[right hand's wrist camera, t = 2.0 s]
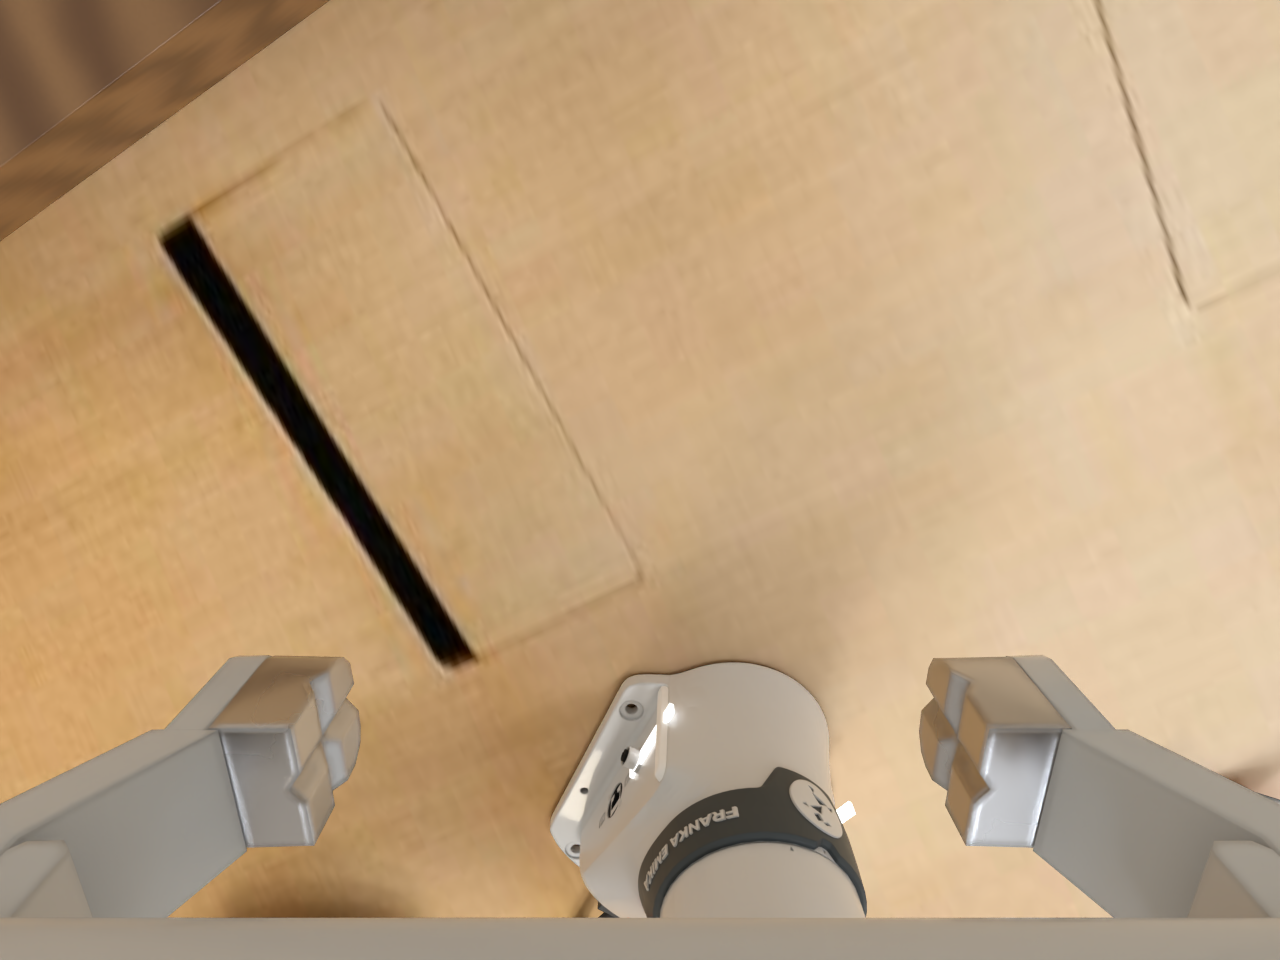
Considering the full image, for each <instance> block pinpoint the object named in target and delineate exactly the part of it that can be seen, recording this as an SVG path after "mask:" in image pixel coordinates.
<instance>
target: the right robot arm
mask: <svg viewBox="0 0 1280 960" xmlns="http://www.w3.org/2000/svg"><path fill="white" fill-rule="evenodd" d="M353 685H354V681H353V676H352V671H351V666H350V663H349V662H348V661H347V660H346V659H345V658H344V657H311V656H273V657H272V656H269V655H265V656H236V657H233V658H229V659H228V660H227V661H226V663H225V664H224V665H223V666H222V667H221V668H220V669H219V670H218V671H217V672H216V673H215V675H214V676H213V677H212V678H211V679H210V680H209V681H208V682H207V683H206V684H205V686H204V687H203V688H202V689H201V690H200V691H199V692H198V693H197V694H196V695H195V696H194V698H193V699H192V700H191V701H190V702H189V703H188V704H187V705H186V706H185V707H184V708H183V710H182V711H181V712H180V713H179V714H178V715H177V716H176V717H175V718H174V719H173V720H172V722H171V723H170V724H169V725H168V726H167V727H166V728H165V729H164V730H151V731H148V732H146V733H144V734H142V735H140V736H138V737H136V738H134V739H132V740H130V741H128V742H126V743H124V744H122V745H120V746H118V747H116V748H114V749H112V750H110V751H108V752H105V753H103V754H101V755H99V756H97V757H95V758H93V759H91V760H89V761H87V762H85V763H83V764H81V765H79V766H77V767H75V768H73V769H71V770H69V771H67V772H65V773H62V774H60V775H58V776H56V777H54V778H52V779H50V780H48V781H46V782H44V783H42V784H40V785H38V786H36V787H34V788H32V789H30V790H28V791H26V792H24V793H22V794H20V795H17V796H15V797H13V798H11V799H9V800H7V801H5V802H3V803H1V804H0V960H1280V804H1278V803H1276V802H1274V801H1272V800H1270V799H1268V798H1266V797H1264V796H1262V795H1260V794H1258V793H1256V792H1254V791H1252V790H1250V789H1248V788H1246V787H1244V786H1242V785H1240V784H1238V783H1236V782H1234V781H1232V780H1229V779H1227V778H1225V777H1223V776H1221V775H1219V774H1217V773H1215V772H1213V771H1211V770H1209V769H1207V768H1205V767H1203V766H1201V765H1199V764H1197V763H1195V762H1193V761H1191V760H1189V759H1187V758H1185V757H1183V756H1180V755H1178V754H1176V753H1174V752H1172V751H1170V750H1168V749H1166V748H1164V747H1162V746H1160V745H1158V744H1156V743H1154V742H1152V741H1150V740H1148V739H1146V738H1144V737H1142V736H1140V735H1138V734H1136V733H1134V732H1132V731H1129V730H1116V729H1115V728H1114V727H1113V726H1112V725H1111V724H1110V723H1109V722H1108V720H1107V719H1106V718H1105V717H1104V716H1103V715H1102V714H1101V713H1100V712H1099V711H1098V710H1097V708H1096V707H1095V706H1094V705H1093V704H1092V703H1091V702H1090V701H1089V700H1088V699H1087V698H1086V696H1085V695H1084V694H1083V693H1082V692H1081V691H1080V690H1079V689H1078V688H1077V687H1076V685H1075V684H1074V683H1073V682H1072V681H1071V680H1070V679H1069V678H1068V677H1067V676H1066V675H1065V673H1064V672H1063V671H1062V670H1061V669H1060V668H1059V667H1058V666H1057V665H1056V664H1055V663H1054V661H1053V660H1052V659H1050V658H1048V657H1045V656H1043V655H1029V656H1006V657H974V658H933V660H932V662H931V664H930V666H929V669H928V675H927V680H926V685H927V686H928V688H929V690H930V691H931V693H932V695H933V697H934V698H933V699H932V700H931V701H930V702H929V703H928V704H927V705H926V706H925V707H924V709H923V710H922V711H921V719H920V728H919V735H920V746H921V753H922V756H923V760H924V763H925V766H926V768H927V770H928V772H929V774H930V776H931V779H932V780H933V781H934V782H936V783H937V784H939V785H940V786H941V787H943V788H944V789H946V790H947V797H946V803H945V806H946V808H947V810H948V812H949V814H950V816H951V818H952V820H953V822H954V824H955V826H956V827H957V829H958V831H959V833H960V835H961V837H962V839H963V841H964V843H965V845H966V846H998V847H1034V848H1033V851H1034V852H1035V853H1036V854H1038V855H1039V856H1040V857H1041V858H1042V859H1044V860H1045V861H1046V862H1047V863H1048V864H1050V865H1051V866H1052V867H1053V868H1055V869H1056V870H1057V871H1058V872H1059V873H1061V874H1062V875H1063V876H1064V877H1065V878H1067V879H1068V880H1069V881H1070V882H1071V883H1073V884H1074V885H1075V886H1076V887H1077V888H1079V889H1080V890H1081V891H1082V892H1083V893H1085V894H1086V895H1087V896H1088V897H1089V898H1091V899H1092V900H1093V901H1094V902H1095V903H1097V904H1098V905H1099V906H1100V907H1101V908H1103V909H1104V910H1105V911H1106V912H1108V913H1109V914H1110V915H1111V916H1112V917H1114V918H866V913H867V901H866V895H865V890H864V887H863V884H862V880H861V877H860V873H859V870H858V866H857V863H856V860H855V857H854V854H853V851H852V848H851V845H850V842H849V839H848V836H847V834H846V831H845V829H844V827H843V824H842V823H844V822H845V821H846V820H848V819H849V818H851V817H852V816H853V815H855V811H854V808H853V805H852V803H851V802H850V801H848V802H847V803H845V804H844V805H843V806H841V807H840V808H839V809H837V810H836V809H835V802H834V796H833V791H832V786H831V777H830V767H829V731H828V725H827V722H826V718H825V716H824V713H823V711H822V709H821V707H820V706H819V704H818V702H817V701H816V700H815V698H814V697H813V696H812V695H811V694H810V692H809V691H808V690H807V689H805V688H804V687H803V686H802V685H801V684H800V683H798V682H797V681H795V680H794V679H792V678H791V677H789V676H787V675H785V674H783V673H781V672H779V671H777V670H774V669H771V668H768V667H765V666H761V665H756V664H750V663H740V662H727V663H716V664H710V665H705V666H701V667H698V668H695V669H691V670H688V671H685V672H682V673H678V674H673V675H660V674H640V675H634V676H631V677H629V678H627V679H626V680H625V681H624V682H623V683H622V685H621V687H620V688H619V690H618V692H617V694H616V696H615V698H614V700H613V702H612V703H611V705H610V707H609V709H608V711H607V713H606V715H605V717H604V718H603V720H602V722H601V724H600V726H599V728H598V730H597V732H596V733H595V735H594V737H593V739H592V741H591V743H590V745H589V747H588V748H587V750H586V752H585V754H584V756H583V758H582V760H581V761H580V763H579V765H578V767H577V769H576V771H575V773H574V775H573V776H572V778H571V780H570V782H569V784H568V786H567V788H566V790H565V791H564V793H563V795H562V797H561V799H560V801H559V803H558V805H557V806H556V808H555V810H554V812H553V814H552V817H551V819H550V832H551V834H552V836H553V838H554V840H555V842H556V843H557V845H558V846H559V847H560V849H561V850H562V851H563V852H564V853H565V855H567V856H568V857H569V858H570V859H571V860H572V861H573V862H574V863H575V864H576V865H578V866H579V867H580V873H581V877H582V879H583V881H584V884H585V886H586V887H587V889H588V890H589V892H590V893H591V894H592V895H593V896H594V897H595V899H596V900H597V901H598V909H599V910H601V911H603V912H604V913H603V914H602V915H601V916H600V917H598V918H167V917H168V916H169V915H170V914H171V913H173V912H174V911H175V910H176V909H178V908H179V907H180V906H181V905H182V904H184V903H185V902H186V901H187V900H188V899H190V898H191V897H192V896H193V895H194V894H196V893H197V892H198V891H199V890H200V889H202V888H203V887H204V886H205V885H206V884H208V883H209V882H210V881H211V880H213V879H214V878H215V877H216V876H217V875H219V874H220V873H221V872H222V871H223V870H225V869H226V868H227V867H228V866H229V865H231V864H232V863H233V862H234V861H235V860H237V859H238V858H239V857H240V856H241V855H243V854H244V853H245V852H246V851H247V849H246V847H281V846H314V845H315V843H316V841H317V839H318V837H319V835H320V833H321V831H322V829H323V827H324V826H325V824H326V822H327V820H328V818H329V816H330V814H331V812H332V810H333V808H334V806H335V803H334V797H333V792H332V791H333V790H334V789H336V788H337V787H339V786H340V785H341V784H343V783H344V782H346V781H347V780H348V779H349V776H350V774H351V772H352V770H353V768H354V766H355V764H356V760H357V755H358V751H359V746H360V730H361V725H360V718H359V711H358V710H357V709H356V708H355V706H354V705H353V704H352V703H351V702H350V701H349V700H348V699H347V698H346V697H347V695H348V693H349V691H350V690H351V688H352V686H353ZM628 704H635V705H636V707H633V708H630V707H628V706H627V705H628ZM575 844H577V845H578V846H577V845H575Z"/></svg>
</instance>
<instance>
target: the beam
mask: <svg viewBox="0 0 1280 960" xmlns="http://www.w3.org/2000/svg"><path fill="white" fill-rule="evenodd" d="M328 1H329V0H0V241H1V240H2V239H4V238H5V237H6V236H8V235H9V234H11V233H12V232H13V231H15V230H16V229H17V228H19V227H20V226H22V225H23V224H24V223H26V222H27V221H28V220H30V219H31V218H32V217H34V216H35V215H37V214H38V213H39V212H41V211H42V210H43V209H45V208H46V207H48V206H49V205H50V204H52V203H53V202H54V201H56V200H57V199H58V198H60V197H61V196H63V195H64V194H65V193H67V192H68V191H69V190H71V189H72V188H73V187H75V186H76V185H78V184H79V183H80V182H82V181H83V180H84V179H86V178H87V177H89V176H90V175H91V174H93V173H94V172H95V171H97V170H98V169H99V168H101V167H102V166H104V165H105V164H106V163H108V162H109V161H110V160H112V159H113V158H115V157H116V156H117V155H119V154H120V153H121V152H123V151H124V150H125V149H127V148H128V147H130V146H131V145H132V144H134V143H135V142H136V141H138V140H139V139H141V138H142V137H143V136H145V135H146V134H147V133H149V132H150V131H151V130H153V129H154V128H156V127H157V126H158V125H160V124H161V123H162V122H164V121H165V120H167V119H168V118H169V117H171V116H172V115H173V114H175V113H176V112H177V111H179V110H180V109H182V108H183V107H184V106H186V105H187V104H188V103H190V102H191V101H193V100H194V99H195V98H197V97H198V96H199V95H201V94H202V93H203V92H205V91H206V90H208V89H209V88H210V87H212V86H213V85H214V84H216V83H217V82H218V81H220V80H221V79H223V78H224V77H225V76H227V75H228V74H229V73H231V72H232V71H234V70H235V69H236V68H238V67H239V66H240V65H242V64H243V63H244V62H246V61H247V60H249V59H250V58H251V57H253V56H254V55H255V54H257V53H258V52H260V51H261V50H262V49H264V48H265V47H266V46H268V45H269V44H270V43H272V42H273V41H275V40H276V39H277V38H279V37H280V36H281V35H283V34H284V33H286V32H287V31H288V30H290V29H291V28H292V27H294V26H295V25H296V24H298V23H299V22H301V21H302V20H303V19H305V18H306V17H307V16H309V15H310V14H312V13H313V12H314V11H316V10H317V9H318V8H320V7H321V6H322V5H324V4H325V3H327V2H328Z"/></svg>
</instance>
